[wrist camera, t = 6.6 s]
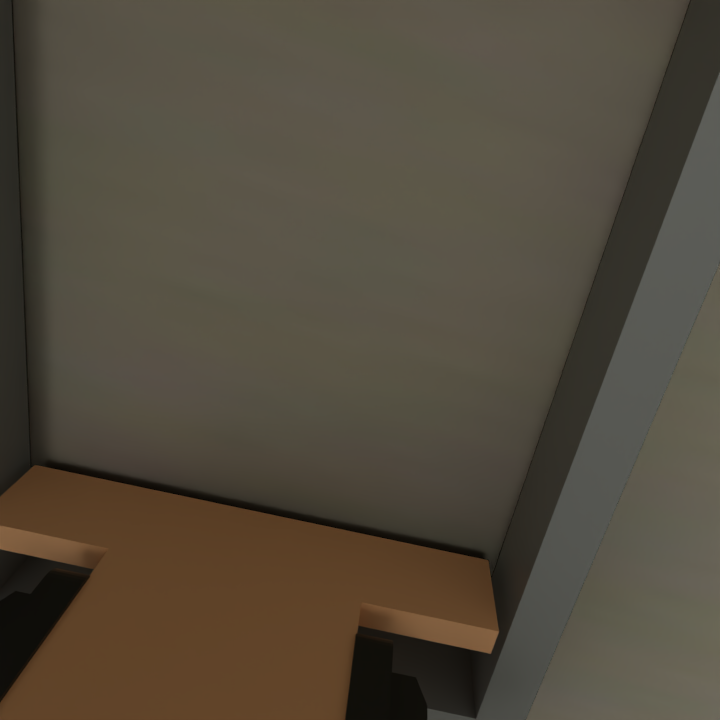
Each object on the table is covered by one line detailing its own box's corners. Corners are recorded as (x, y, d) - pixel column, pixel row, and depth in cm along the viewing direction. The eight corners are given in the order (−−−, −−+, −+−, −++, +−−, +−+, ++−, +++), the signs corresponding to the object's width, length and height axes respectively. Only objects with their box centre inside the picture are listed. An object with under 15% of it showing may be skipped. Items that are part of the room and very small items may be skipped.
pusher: (34, 464, 14) (-424, 881, 6) (488, 559, 13) (570, 1108, 6) (37, 535, 14) (-369, 980, 7) (466, 625, 14) (514, 1181, 7)
